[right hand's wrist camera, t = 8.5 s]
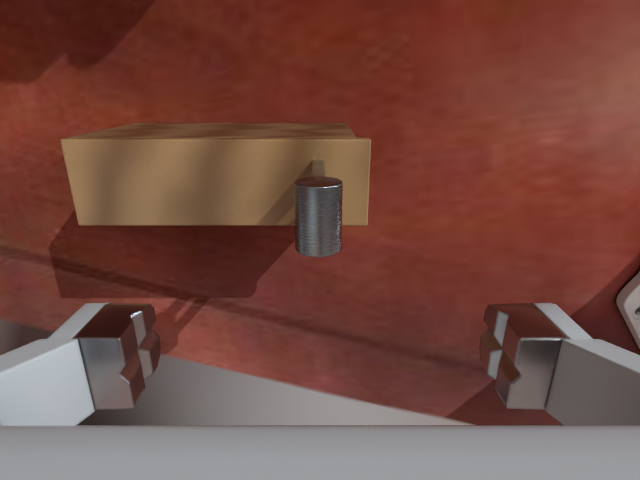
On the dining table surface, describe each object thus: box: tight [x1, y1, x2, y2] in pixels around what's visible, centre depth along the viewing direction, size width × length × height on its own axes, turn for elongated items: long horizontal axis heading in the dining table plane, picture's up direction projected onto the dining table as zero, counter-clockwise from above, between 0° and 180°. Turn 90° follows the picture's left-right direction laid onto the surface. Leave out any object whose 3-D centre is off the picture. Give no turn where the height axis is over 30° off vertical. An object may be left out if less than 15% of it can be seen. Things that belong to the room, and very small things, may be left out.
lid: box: [60, 138, 371, 257], centre depth 22 cm, size 18×5×8 cm, turn 90°
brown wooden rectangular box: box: [69, 123, 356, 138], centre depth 30 cm, size 17×5×10 cm, turn 90°
